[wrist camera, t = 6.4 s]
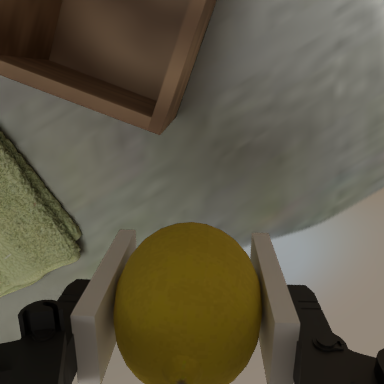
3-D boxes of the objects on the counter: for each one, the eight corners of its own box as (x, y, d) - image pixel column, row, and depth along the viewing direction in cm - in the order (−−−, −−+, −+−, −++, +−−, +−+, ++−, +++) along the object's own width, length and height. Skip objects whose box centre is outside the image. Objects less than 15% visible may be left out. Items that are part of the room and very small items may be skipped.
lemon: (129, 287, 19) (75, 434, 11) (146, 186, 17) (95, 280, 9) (235, 308, 19) (252, 469, 11) (263, 210, 17) (305, 322, 10)
